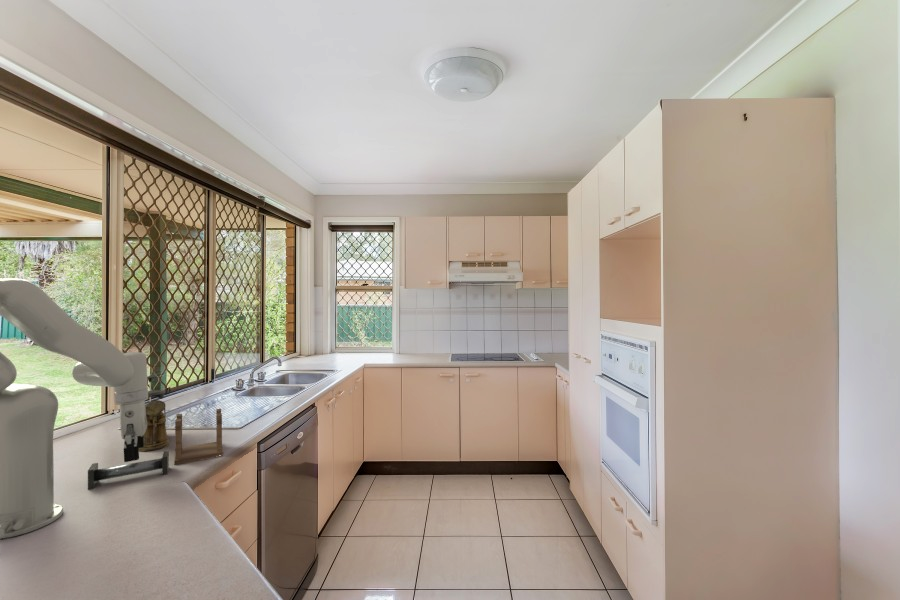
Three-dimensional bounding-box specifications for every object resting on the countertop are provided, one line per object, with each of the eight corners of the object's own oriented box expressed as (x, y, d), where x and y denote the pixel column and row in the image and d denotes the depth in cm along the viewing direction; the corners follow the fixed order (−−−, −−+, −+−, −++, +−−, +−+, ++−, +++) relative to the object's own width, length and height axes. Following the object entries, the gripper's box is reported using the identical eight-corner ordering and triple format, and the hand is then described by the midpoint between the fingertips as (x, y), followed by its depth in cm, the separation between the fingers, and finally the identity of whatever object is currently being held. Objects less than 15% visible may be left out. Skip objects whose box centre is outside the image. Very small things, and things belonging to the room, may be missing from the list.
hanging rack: (222, 455, 128) (222, 416, 128) (174, 464, 121) (174, 422, 121) (221, 444, 138) (221, 407, 138) (176, 451, 131) (176, 413, 131)
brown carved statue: (137, 458, 126) (137, 402, 126) (135, 445, 136) (135, 394, 136) (171, 451, 132) (171, 397, 132) (167, 439, 142) (167, 390, 142)
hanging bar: (167, 474, 114) (167, 456, 114) (87, 489, 105) (87, 470, 105) (168, 467, 119) (168, 450, 119) (92, 482, 110) (92, 463, 110)
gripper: (144, 401, 107) (147, 462, 108) (151, 387, 122) (154, 441, 122) (108, 406, 103) (111, 469, 104) (120, 390, 118) (123, 446, 118)
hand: (134, 454), depth 113 cm, fingers open, 9 cm apart
